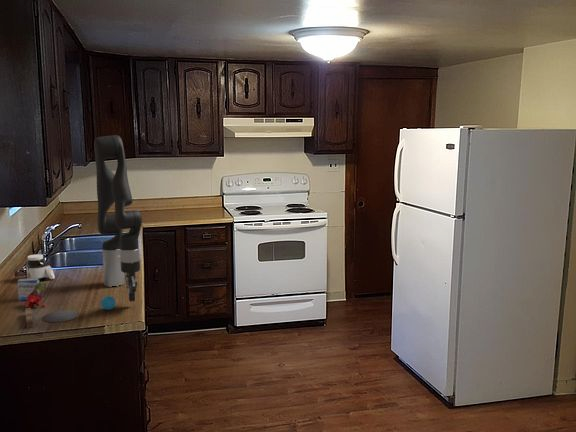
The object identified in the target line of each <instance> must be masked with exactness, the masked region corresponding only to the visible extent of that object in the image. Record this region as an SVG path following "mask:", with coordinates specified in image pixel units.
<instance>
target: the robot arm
mask: <svg viewBox="0 0 576 432" xmlns="http://www.w3.org/2000/svg"><path fill="white" fill-rule="evenodd" d="M93 150H94V151H93V152H94V159H95V160H94V161H95V167H96V196H97V198H96V199H97V230H98V232H99V234H100V235H114V236H112V238H110V239H108V240H105V241H104V242H102V244H101V250H102V252H101V253H102V269H103V286H104V285H105V287H107V286H108V288H113V287H112V286H117V287H120V286H119V285H121V286H123V285H122V284H124V283H125V284H126V289H127V292H128V301H129V302H135V301H136V294H135V293H136V292H137V287H138V281H137V280H138V277H137V275H136V273H138V272H140V271H141V259H140V258H141V257H140V256H141V255H140V248H139V238H140V233H141V232H140V231H141V227H142V223H143V217H142V214H141V212H140V211H139V210H136V209H135V210H134V209H133V210H124V209H125V208H126V207H129V206H131V205H132V204H133V196H132V192H131V188H130V185H129V178H128V171H127V161H126V154H125V149H124V143H123V140H122V138H121V137H120V135H117V134H116V135H115V134H114V135H105V136H98V137H95V139H94V142H93ZM109 159H117V161H116V162H117V166H116V170H115V173H114V172H112V170H111V169H109V167H108V165H107V164H106V162H105V160H109ZM113 205H114V213H108V211H109V209H110V208H111V207H112V206H113ZM125 229H126V230H128V232H126V233H123V230H125ZM125 284H124V285H125Z"/></svg>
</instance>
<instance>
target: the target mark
mask: <svg viewBox="0 0 576 432" xmlns="http://www.w3.org/2000/svg"><path fill="white" fill-rule="evenodd" d="M75 317H76V318H77V317H79V312H77V310H69V309H67V310H66V309H65V310H57V311H52V312H48V313H46V314H44V315H43V316H42V318H41V319H42V321H43V322H46V323H62V322H63V321H64V322H68V321H71V319H72V320H74V319H76V318H75ZM67 320H68V321H67ZM64 322H63V323H64Z"/></svg>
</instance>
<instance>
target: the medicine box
mask: <svg viewBox="0 0 576 432" xmlns="http://www.w3.org/2000/svg"><path fill="white" fill-rule="evenodd" d="M38 283H40V281H39V278H28V277H27V278H19V279H18V280H17V294H18V295H17V297H18V301H19V302H24V301H26V302H27V301H28V295H29V294H30V293H31V292H33V289H34V288H35V286H36V285H37V284H38Z"/></svg>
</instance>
